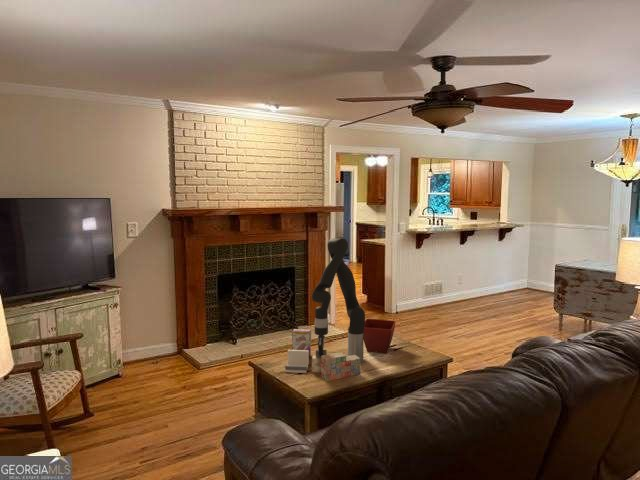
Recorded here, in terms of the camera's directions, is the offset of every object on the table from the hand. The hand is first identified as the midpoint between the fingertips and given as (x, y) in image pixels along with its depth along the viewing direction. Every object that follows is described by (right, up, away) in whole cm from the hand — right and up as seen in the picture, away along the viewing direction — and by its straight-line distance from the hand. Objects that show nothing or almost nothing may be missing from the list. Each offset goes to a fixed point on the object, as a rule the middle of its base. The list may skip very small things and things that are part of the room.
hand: (321, 355), depth 261 cm
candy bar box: (-12, -7, +23) cm, 27 cm away
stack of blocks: (+11, -10, -5) cm, 16 cm away
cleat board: (-14, -9, +4) cm, 17 cm away
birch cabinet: (0, -9, +1) cm, 9 cm away
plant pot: (+37, -5, +35) cm, 51 cm away
